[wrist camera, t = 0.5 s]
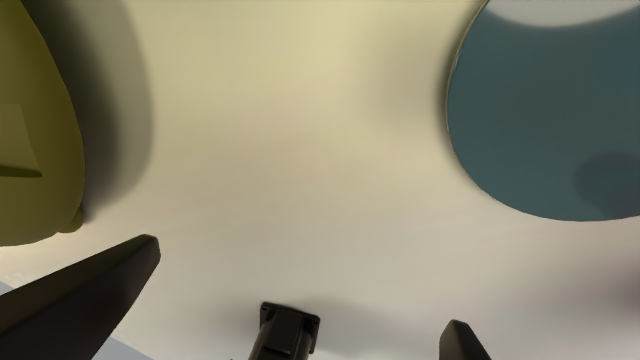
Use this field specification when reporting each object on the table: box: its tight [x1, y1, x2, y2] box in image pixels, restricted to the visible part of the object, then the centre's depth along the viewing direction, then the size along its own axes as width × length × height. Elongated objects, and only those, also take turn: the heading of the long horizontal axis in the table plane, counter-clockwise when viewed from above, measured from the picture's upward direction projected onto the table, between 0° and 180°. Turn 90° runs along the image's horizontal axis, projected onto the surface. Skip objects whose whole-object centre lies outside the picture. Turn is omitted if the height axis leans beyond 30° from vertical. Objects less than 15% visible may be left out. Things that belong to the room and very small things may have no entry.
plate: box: [445, 0, 640, 222], centre depth 16 cm, size 17×17×1 cm
